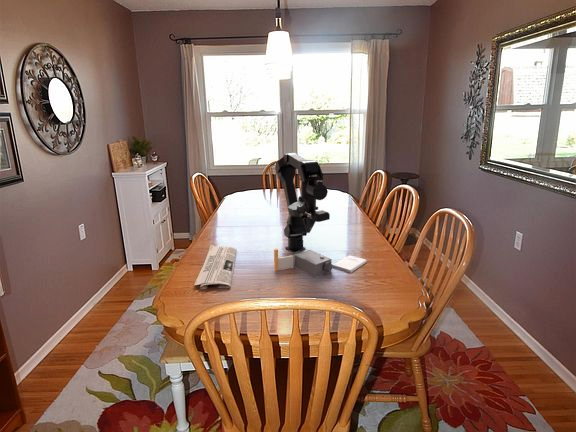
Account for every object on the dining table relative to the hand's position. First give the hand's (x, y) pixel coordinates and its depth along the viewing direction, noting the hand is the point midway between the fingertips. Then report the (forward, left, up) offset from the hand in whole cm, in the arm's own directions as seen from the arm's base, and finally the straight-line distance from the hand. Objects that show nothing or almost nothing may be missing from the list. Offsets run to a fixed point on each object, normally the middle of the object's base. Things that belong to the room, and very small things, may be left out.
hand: (308, 232), depth 147 cm
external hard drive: (+13, +10, -13) cm, 21 cm away
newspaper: (-17, -31, -13) cm, 38 cm away
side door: (0, -12, -12) cm, 17 cm away
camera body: (+7, -4, -12) cm, 14 cm away
